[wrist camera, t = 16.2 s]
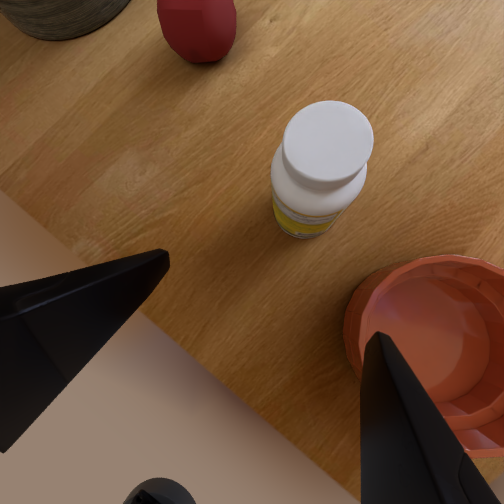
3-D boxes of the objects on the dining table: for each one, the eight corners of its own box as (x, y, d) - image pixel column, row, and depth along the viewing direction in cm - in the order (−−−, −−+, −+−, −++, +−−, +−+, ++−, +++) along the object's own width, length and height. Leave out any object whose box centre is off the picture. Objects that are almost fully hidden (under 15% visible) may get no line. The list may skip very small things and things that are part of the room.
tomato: (168, 71, 27) (129, -6, 20) (188, 16, 28) (158, -76, 21) (231, 80, 26) (214, 2, 19) (250, 22, 27) (240, -73, 20)
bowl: (465, 451, 18) (526, 504, 14) (316, 363, 20) (327, 384, 16) (526, 306, 19) (601, 312, 15) (378, 237, 21) (405, 225, 17)
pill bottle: (308, 169, 23) (336, 65, 12) (349, 214, 22) (418, 144, 11) (260, 205, 23) (245, 133, 12) (298, 252, 22) (319, 218, 11)
